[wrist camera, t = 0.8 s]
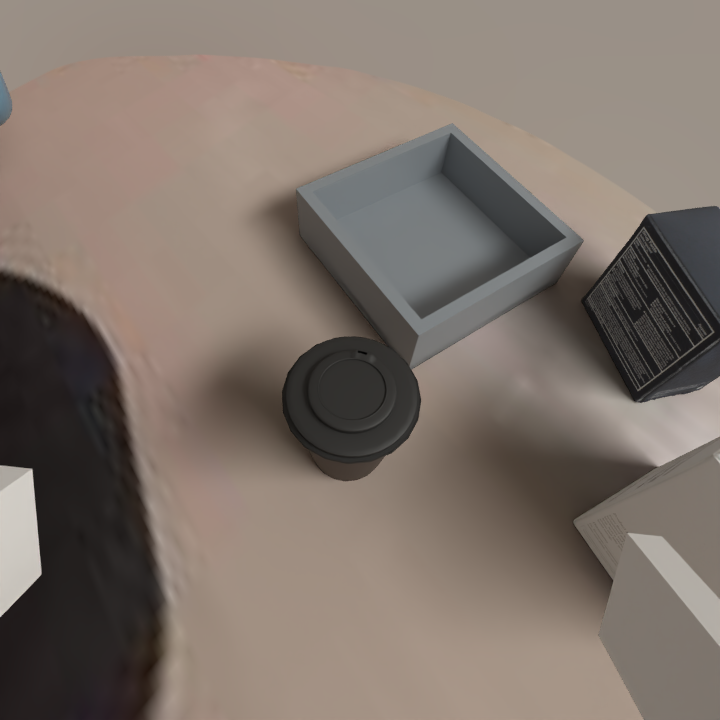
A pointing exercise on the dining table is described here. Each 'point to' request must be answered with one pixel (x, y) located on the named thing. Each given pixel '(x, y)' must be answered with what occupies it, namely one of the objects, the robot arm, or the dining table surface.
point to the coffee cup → (350, 404)
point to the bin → (433, 240)
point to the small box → (663, 304)
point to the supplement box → (665, 514)
